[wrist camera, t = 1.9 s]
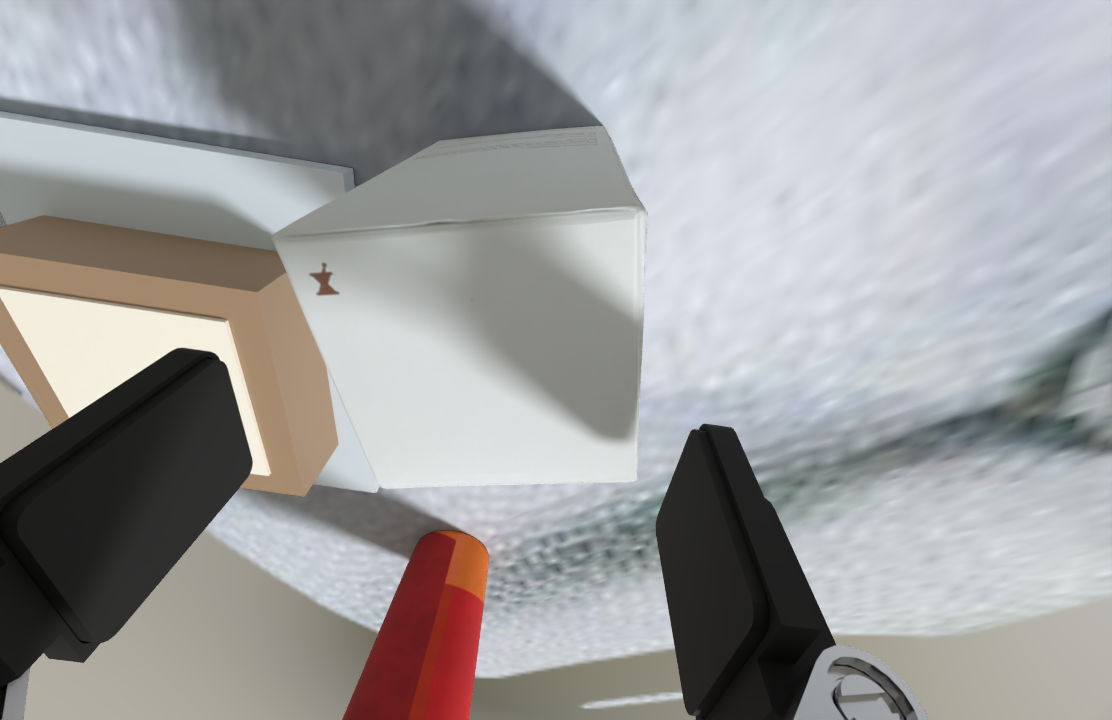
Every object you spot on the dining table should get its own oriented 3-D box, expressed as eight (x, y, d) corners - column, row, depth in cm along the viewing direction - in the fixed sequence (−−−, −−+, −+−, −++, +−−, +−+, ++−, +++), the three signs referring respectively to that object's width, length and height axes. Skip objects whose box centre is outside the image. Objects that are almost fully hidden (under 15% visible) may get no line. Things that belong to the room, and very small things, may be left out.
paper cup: (397, 570, 36) (309, 811, 25) (407, 510, 32) (307, 764, 21) (493, 590, 37) (451, 832, 26) (515, 534, 33) (477, 791, 21)
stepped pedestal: (-26, 107, 19) (-203, 119, 15) (353, 168, 20) (288, 197, 16) (139, 447, 30) (64, 512, 26) (382, 481, 31) (348, 550, 26)
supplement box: (467, 298, 23) (368, 495, 13) (435, 136, 19) (250, 225, 9) (614, 290, 23) (641, 492, 12) (613, 122, 19) (651, 199, 8)
